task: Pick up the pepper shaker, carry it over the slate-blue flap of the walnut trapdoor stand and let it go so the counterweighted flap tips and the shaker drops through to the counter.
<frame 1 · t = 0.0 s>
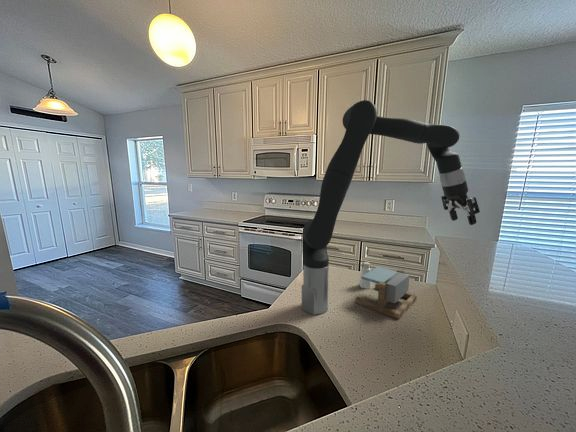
hand: (463, 221, 93), 31 cm above the countertop, tool tilted 20°, fingers open, 8 cm apart
trapdoor frame: (390, 302, 95), on the countertop
pepper shaker: (365, 286, 110), on the countertop
trapdoor: (385, 283, 96), point 7 cm above the countertop, hinge at 0.0°
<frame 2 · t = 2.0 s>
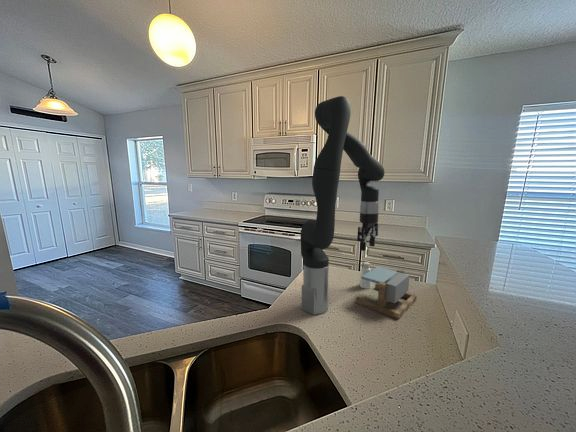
hand: (367, 248, 107), 18 cm above the countertop, tool pointing down, fingers open, 8 cm apart
nothing on the countertop moved.
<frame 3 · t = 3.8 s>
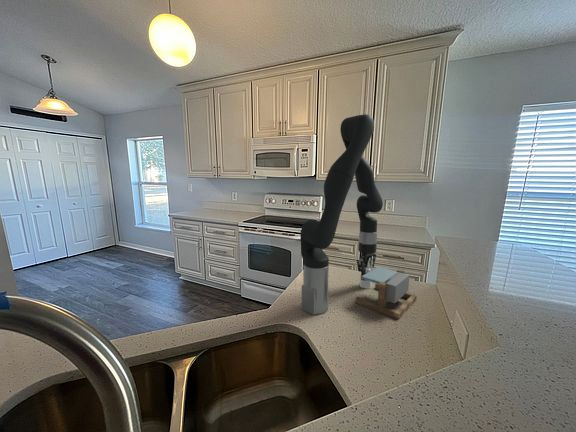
hand: (366, 278, 109), 4 cm above the countertop, tool pointing down, fingers closed on pepper shaker, 3 cm apart
pepper shaker: (365, 286, 110), on the countertop, touching gripper
everything else where it was.
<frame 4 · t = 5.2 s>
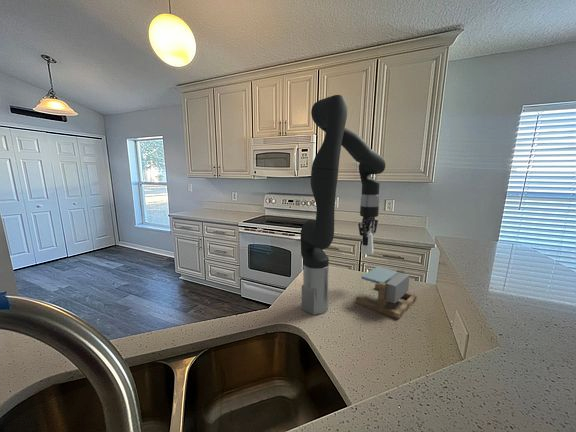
hand: (367, 244, 107), 20 cm above the countertop, tool pointing down, fingers closed on pepper shaker, 3 cm apart
pepper shaker: (366, 252, 107), point 16 cm above the countertop, touching gripper
everything else where it was.
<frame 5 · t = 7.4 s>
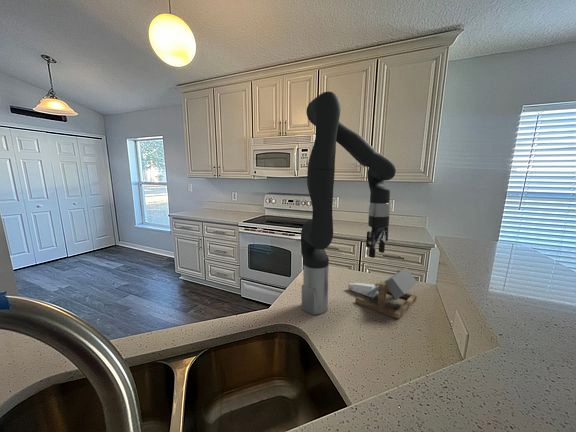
hand: (376, 254, 97), 18 cm above the countertop, tool pointing down, fingers open, 8 cm apart
pepper shaker: (374, 291, 99), point 3 cm above the countertop, touching trapdoor
trapdoor: (391, 287, 94), point 6 cm above the countertop, hinge at -44.6°, touching pepper shaker
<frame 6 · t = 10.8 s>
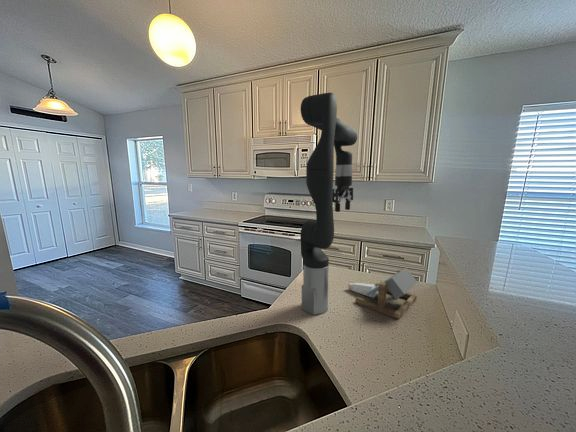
hand: (342, 210, 114), 33 cm above the countertop, tool pointing down, fingers open, 8 cm apart
nothing on the countertop moved.
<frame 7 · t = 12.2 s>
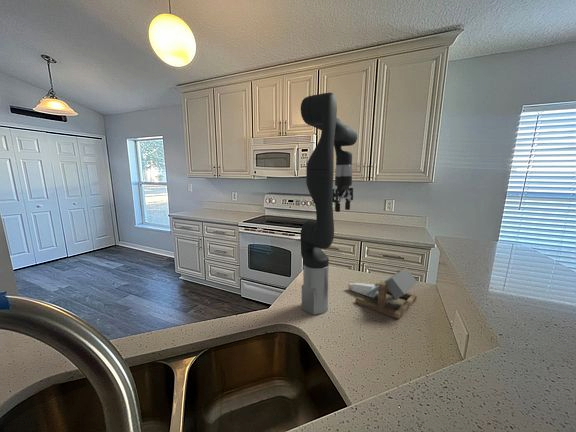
hand: (342, 210, 114), 33 cm above the countertop, tool pointing down, fingers open, 8 cm apart
nothing on the countertop moved.
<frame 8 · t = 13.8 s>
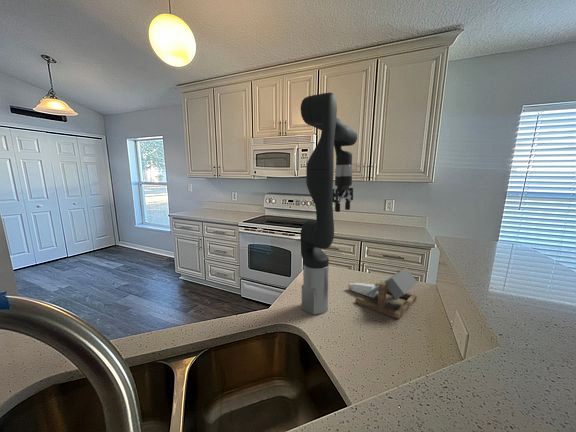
hand: (342, 210, 114), 33 cm above the countertop, tool pointing down, fingers open, 8 cm apart
nothing on the countertop moved.
at the end: pepper shaker point 2.7 cm above the countertop; the gripper is holding nothing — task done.
